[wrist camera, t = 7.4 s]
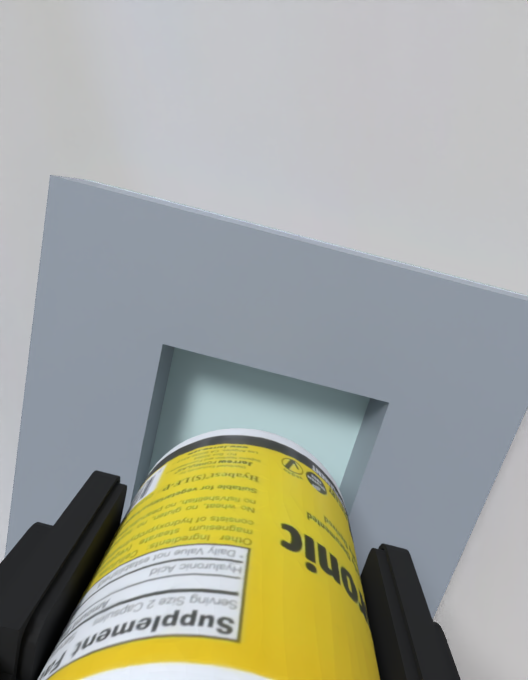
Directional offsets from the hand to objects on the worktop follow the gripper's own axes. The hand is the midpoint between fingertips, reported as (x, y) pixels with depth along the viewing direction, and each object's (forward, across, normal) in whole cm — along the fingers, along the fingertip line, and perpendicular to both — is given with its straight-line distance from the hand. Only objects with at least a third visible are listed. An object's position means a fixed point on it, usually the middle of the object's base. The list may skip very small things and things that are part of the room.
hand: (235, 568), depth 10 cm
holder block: (+6, 0, 0) cm, 6 cm away
